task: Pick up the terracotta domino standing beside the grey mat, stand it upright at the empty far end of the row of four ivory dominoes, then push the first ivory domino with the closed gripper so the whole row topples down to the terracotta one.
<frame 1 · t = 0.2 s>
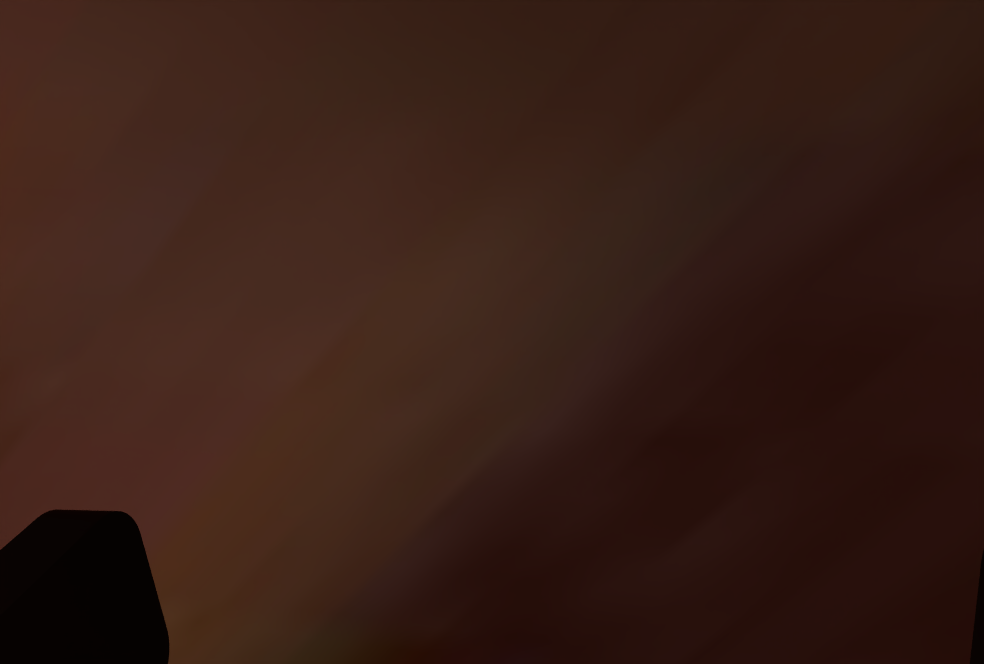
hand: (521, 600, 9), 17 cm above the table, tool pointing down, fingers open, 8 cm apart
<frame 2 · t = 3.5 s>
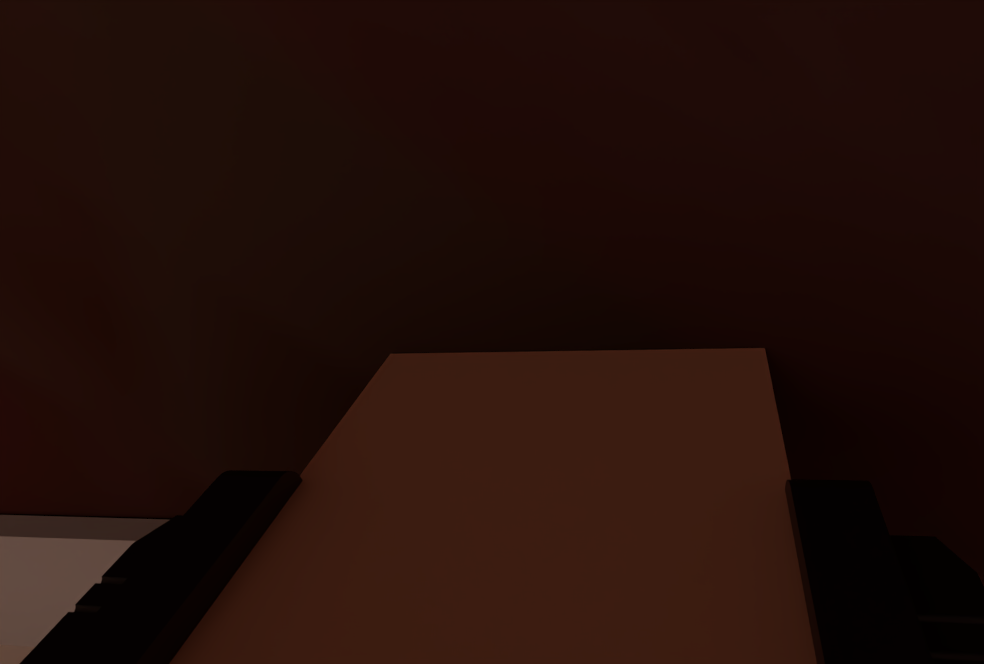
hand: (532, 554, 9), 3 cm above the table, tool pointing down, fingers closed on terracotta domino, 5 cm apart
terracotta domino: (573, 404, 12), on the table, touching gripper
when the fingers open (5 cm above the table, at t = 10.2 s): terracotta domino stays where it is, resting on grey rubber mat.
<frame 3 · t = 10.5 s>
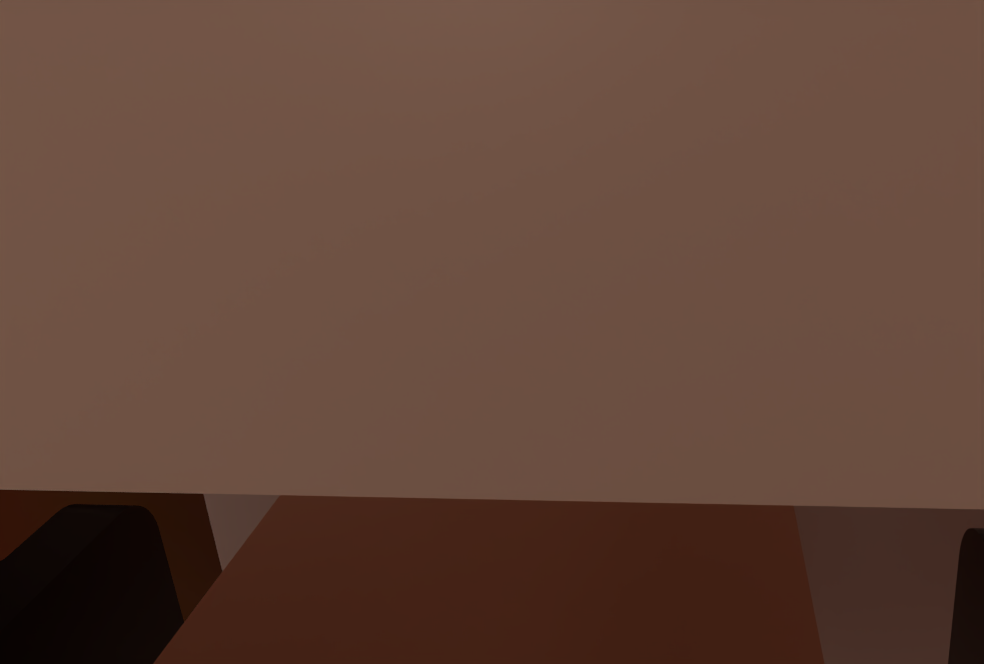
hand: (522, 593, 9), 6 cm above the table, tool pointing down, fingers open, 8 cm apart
terracotta domino: (578, 374, 13), point 1 cm above the table, touching grey rubber mat
ivory domino 4: (553, 15, 12), point 1 cm above the table, touching grey rubber mat
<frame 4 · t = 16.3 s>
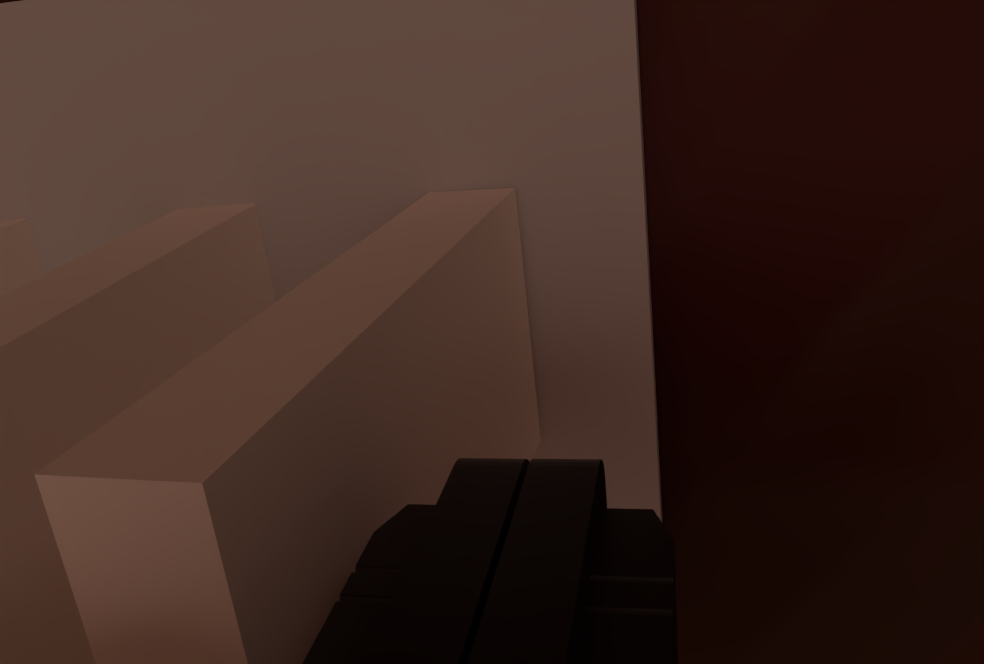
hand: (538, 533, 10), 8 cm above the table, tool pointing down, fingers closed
ivory domino 1: (487, 321, 17), point 1 cm above the table, touching grey rubber mat, gripper
ivory domino 3: (28, 335, 19), point 1 cm above the table, touching grey rubber mat
ivory domino 2: (244, 328, 18), point 1 cm above the table, touching grey rubber mat
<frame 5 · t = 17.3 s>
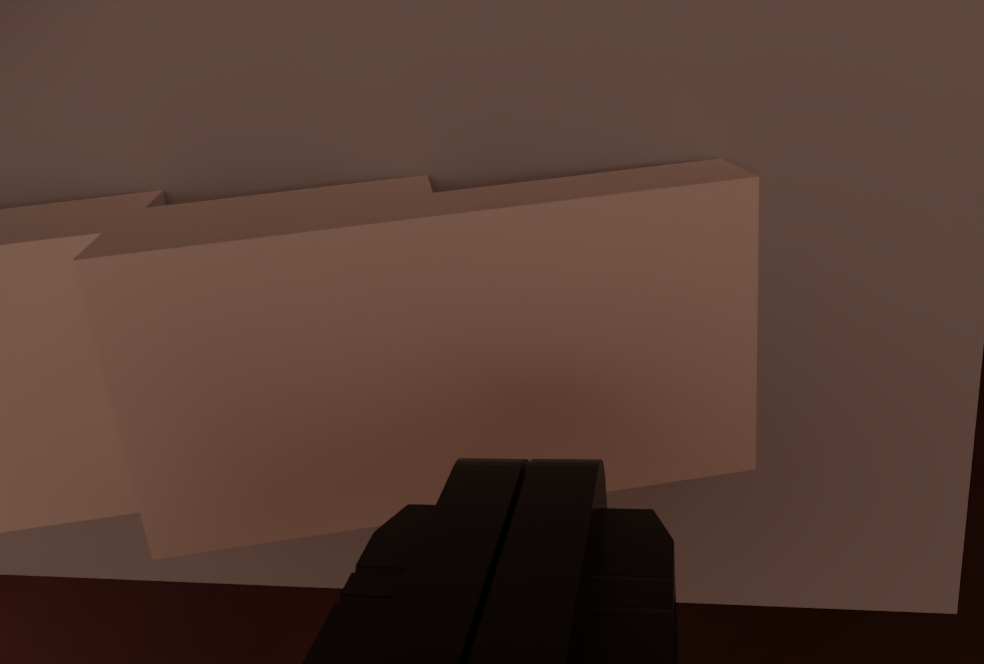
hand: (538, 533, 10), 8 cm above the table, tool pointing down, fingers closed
ivory domino 1: (738, 315, 15), point 1 cm above the table, tilted 72°, touching grey rubber mat, ivory domino 2
ivory domino 3: (183, 326, 18), point 1 cm above the table, tilted 71°, touching grey rubber mat, ivory domino 2, ivory domino 4
grey rubber mat: (100, 307, 19), on the table
ivory domino 2: (446, 321, 16), point 1 cm above the table, tilted 71°, touching grey rubber mat, ivory domino 1, ivory domino 3
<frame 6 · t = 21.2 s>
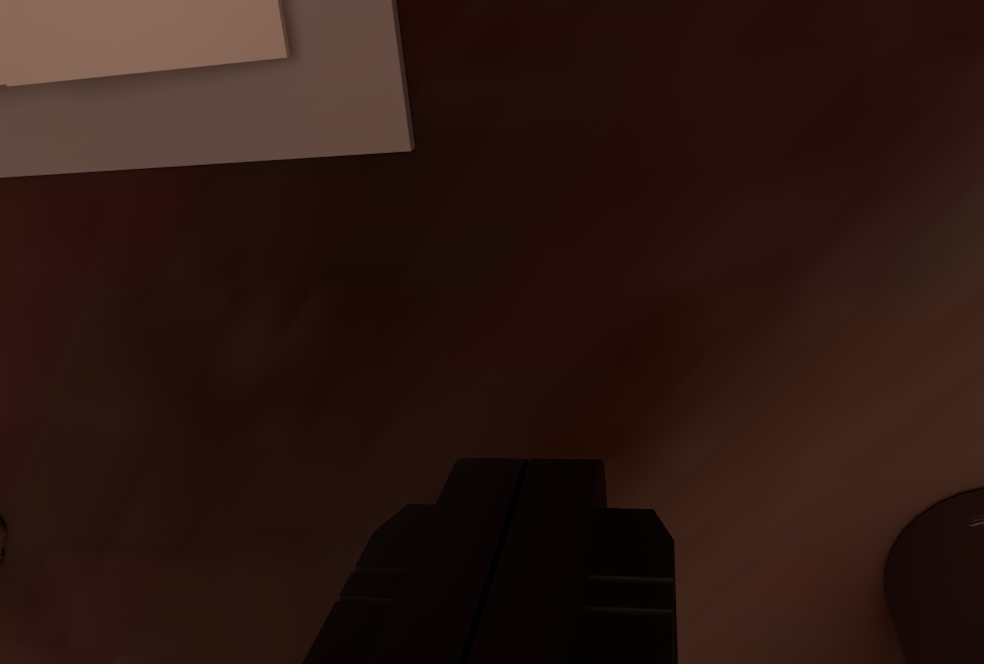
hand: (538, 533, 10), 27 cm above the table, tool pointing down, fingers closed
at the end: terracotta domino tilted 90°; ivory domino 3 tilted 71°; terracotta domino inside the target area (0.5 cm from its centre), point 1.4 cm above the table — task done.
